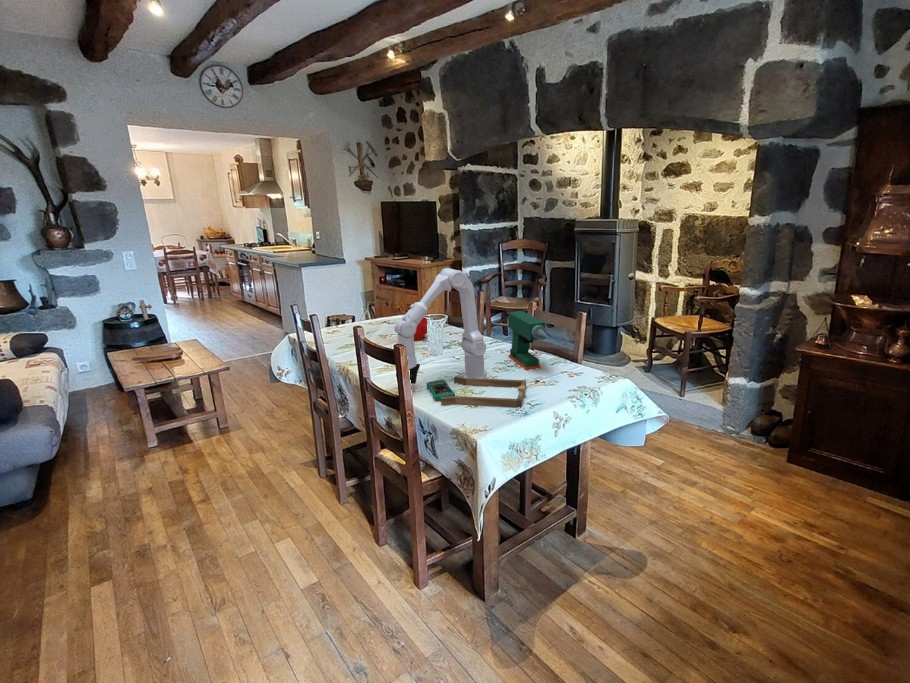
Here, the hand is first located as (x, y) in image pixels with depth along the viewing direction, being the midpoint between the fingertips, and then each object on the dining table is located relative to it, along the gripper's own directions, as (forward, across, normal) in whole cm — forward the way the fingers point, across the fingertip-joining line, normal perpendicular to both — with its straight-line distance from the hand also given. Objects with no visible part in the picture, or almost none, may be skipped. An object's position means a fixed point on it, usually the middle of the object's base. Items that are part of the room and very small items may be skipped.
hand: (409, 387), depth 181 cm
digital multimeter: (+2, 0, +12) cm, 12 cm away
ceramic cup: (+2, -66, -17) cm, 68 cm away
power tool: (+2, -30, +42) cm, 52 cm away
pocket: (+2, 0, +28) cm, 28 cm away
